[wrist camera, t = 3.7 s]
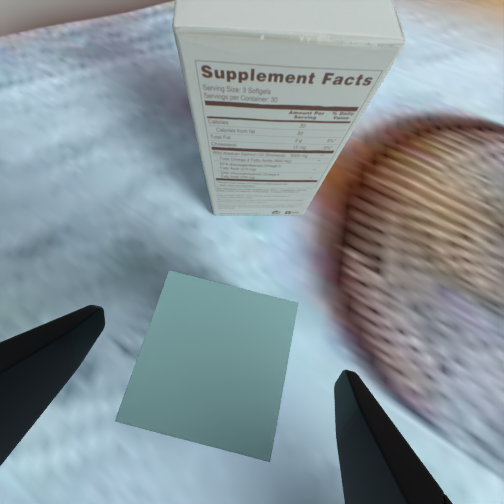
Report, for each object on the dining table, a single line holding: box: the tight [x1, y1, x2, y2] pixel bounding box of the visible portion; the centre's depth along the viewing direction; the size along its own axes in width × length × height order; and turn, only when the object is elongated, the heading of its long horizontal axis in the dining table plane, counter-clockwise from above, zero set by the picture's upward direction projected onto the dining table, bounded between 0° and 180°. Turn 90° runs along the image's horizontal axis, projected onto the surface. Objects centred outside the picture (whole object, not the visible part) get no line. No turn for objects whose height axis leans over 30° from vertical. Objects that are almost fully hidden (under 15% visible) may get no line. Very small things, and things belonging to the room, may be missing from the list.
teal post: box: [115, 270, 298, 462], centre depth 11 cm, size 4×4×10 cm
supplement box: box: [173, 0, 405, 216], centre depth 14 cm, size 7×7×13 cm
